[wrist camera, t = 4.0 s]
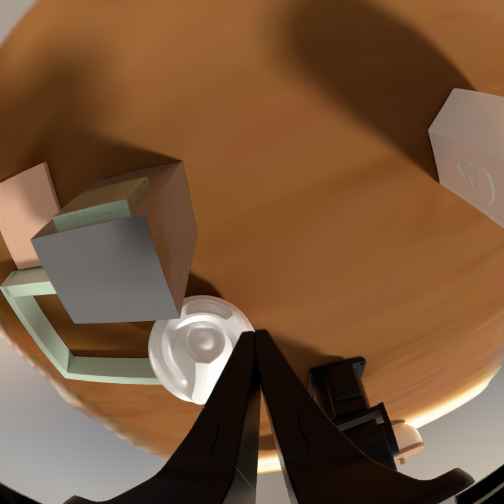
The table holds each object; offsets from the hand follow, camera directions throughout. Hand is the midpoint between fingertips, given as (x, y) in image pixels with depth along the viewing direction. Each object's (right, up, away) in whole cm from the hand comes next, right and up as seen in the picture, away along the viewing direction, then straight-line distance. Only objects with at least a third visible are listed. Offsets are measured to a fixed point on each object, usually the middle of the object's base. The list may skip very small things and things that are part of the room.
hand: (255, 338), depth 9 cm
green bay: (-16, -4, +13) cm, 21 cm away
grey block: (-7, +6, +8) cm, 12 cm away
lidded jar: (+30, -35, +36) cm, 58 cm away
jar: (+16, +12, +6) cm, 21 cm away
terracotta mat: (-18, +5, +8) cm, 20 cm away
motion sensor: (-4, -2, +13) cm, 14 cm away
